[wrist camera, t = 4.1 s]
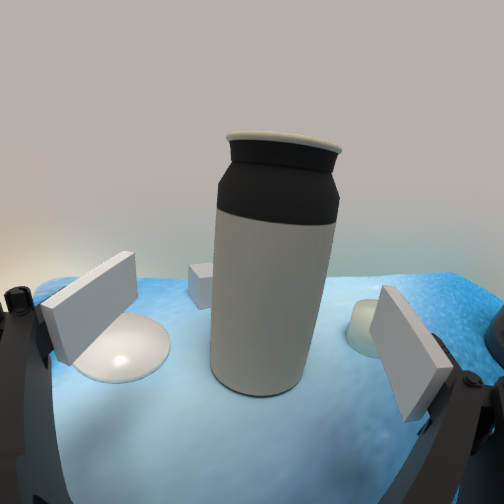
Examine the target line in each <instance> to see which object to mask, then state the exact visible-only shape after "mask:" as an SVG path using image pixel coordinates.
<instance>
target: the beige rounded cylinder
mask: <svg viewBox="0 0 504 504" xmlns="http://www.w3.org/2000/svg"><path fill="white" fill-rule="evenodd" d="M377 303H378V300H375V299H365V300H361V301H358V302H357V303H356V304H355V305H354V309H353V312H352V316H351V319H350V322H349V326H348V329H347V332H346V340H347V342H348V344H349V345H350V346H351V347H352V348H353V349H354V350H355V351H357V352H359V353H360V354H363V355H365V356H368V357H371V358H378V359H380V356H379V354H378V351H377V349H376V347H375V344H374V342H373V339H372V337H371V335H370V332H369V328H370V325H371V322H372V319H373V316H374V312H375V309H376V306H377Z"/></svg>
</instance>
